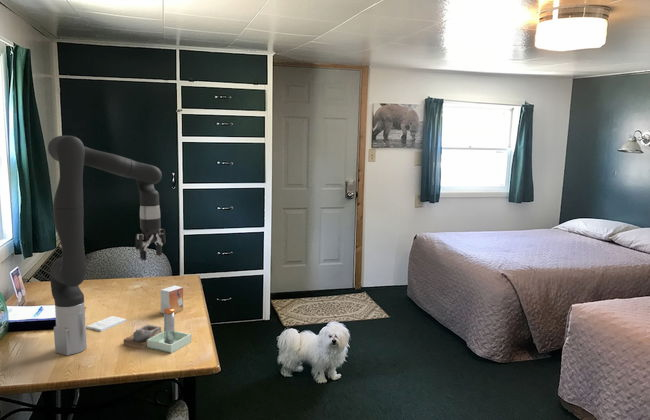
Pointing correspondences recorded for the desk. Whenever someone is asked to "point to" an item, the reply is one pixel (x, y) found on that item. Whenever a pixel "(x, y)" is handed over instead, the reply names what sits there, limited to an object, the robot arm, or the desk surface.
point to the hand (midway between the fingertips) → (151, 257)
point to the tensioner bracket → (142, 336)
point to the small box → (172, 298)
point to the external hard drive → (106, 323)
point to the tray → (179, 342)
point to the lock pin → (169, 325)
